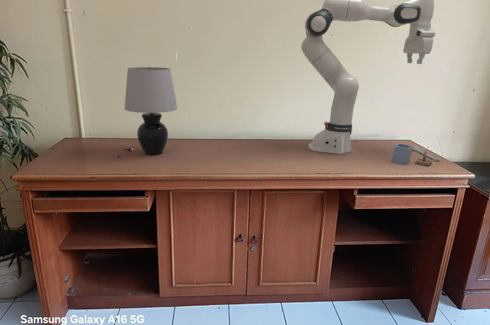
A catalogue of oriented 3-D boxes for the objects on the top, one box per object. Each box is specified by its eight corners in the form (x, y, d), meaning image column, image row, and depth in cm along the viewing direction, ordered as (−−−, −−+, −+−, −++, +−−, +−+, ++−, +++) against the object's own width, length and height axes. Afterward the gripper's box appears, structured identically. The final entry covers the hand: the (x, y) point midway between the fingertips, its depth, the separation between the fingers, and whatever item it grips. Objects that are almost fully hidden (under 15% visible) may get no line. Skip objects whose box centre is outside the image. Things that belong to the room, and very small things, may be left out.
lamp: (125, 161, 159) (118, 69, 147) (130, 147, 182) (124, 66, 169) (179, 159, 164) (176, 70, 152) (177, 145, 187) (175, 67, 174)
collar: (406, 164, 167) (409, 148, 165) (392, 162, 171) (394, 145, 168) (409, 161, 172) (412, 145, 169) (395, 159, 176) (398, 143, 173)
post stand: (428, 166, 165) (431, 154, 163) (415, 164, 169) (417, 151, 167) (431, 163, 170) (433, 151, 168) (417, 161, 173) (420, 149, 171)
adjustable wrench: (441, 163, 173) (442, 159, 172) (428, 163, 173) (429, 159, 172) (415, 148, 197) (416, 145, 196) (404, 148, 196) (404, 145, 196)
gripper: (402, 33, 177) (398, 62, 181) (423, 32, 157) (418, 64, 162) (414, 34, 177) (410, 62, 181) (437, 32, 158) (431, 64, 162)
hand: (414, 63), depth 171 cm, fingers open, 8 cm apart
